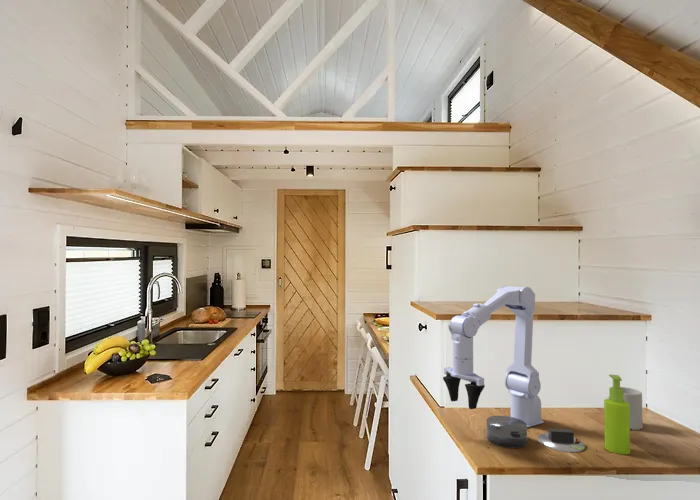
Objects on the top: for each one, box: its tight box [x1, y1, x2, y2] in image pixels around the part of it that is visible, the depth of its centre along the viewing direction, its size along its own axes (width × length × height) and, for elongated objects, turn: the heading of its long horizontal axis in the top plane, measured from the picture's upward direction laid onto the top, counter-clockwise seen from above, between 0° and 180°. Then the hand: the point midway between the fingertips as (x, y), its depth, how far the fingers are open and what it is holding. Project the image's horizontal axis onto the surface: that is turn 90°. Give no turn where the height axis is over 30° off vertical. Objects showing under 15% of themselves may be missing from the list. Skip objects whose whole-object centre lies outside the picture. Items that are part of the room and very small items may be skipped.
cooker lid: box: [537, 427, 586, 453], centre depth 121 cm, size 12×12×4 cm
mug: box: [605, 386, 644, 431], centre depth 135 cm, size 12×8×11 cm
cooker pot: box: [486, 415, 528, 449], centre depth 123 cm, size 14×11×5 cm
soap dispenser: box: [603, 374, 631, 455], centre depth 118 cm, size 6×7×20 cm
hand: (463, 404), depth 123 cm, fingers open, 7 cm apart
